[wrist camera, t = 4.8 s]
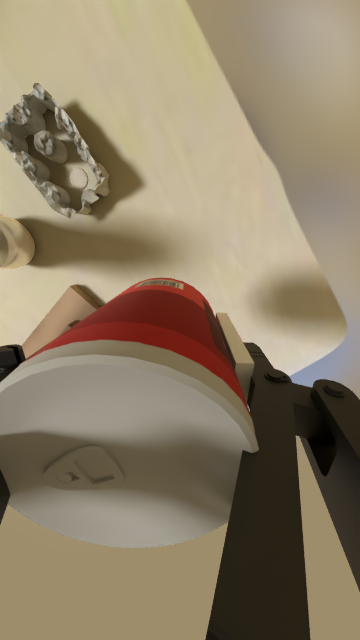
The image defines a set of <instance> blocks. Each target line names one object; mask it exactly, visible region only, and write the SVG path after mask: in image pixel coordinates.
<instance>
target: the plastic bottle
mask: <svg viewBox="0 0 360 640" xmlns="http://www.w3.org/2000/svg"><path fill="white" fill-rule="evenodd" d="M34 253H35V244H34V240H33V238H32V236H31V234H30V233H29V232H28V230H27V229H26V228H25V227H24V226H23V225H22V224H21V223H20V222H18V221H16V220H15V219H12V218H10V217H7V216H4V215H2V214H0V268H6V269H13V268H17V267H20V266H23V265H26V264H28V263H29V262H30V261H31V259H32V258H33V255H34Z"/></svg>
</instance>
